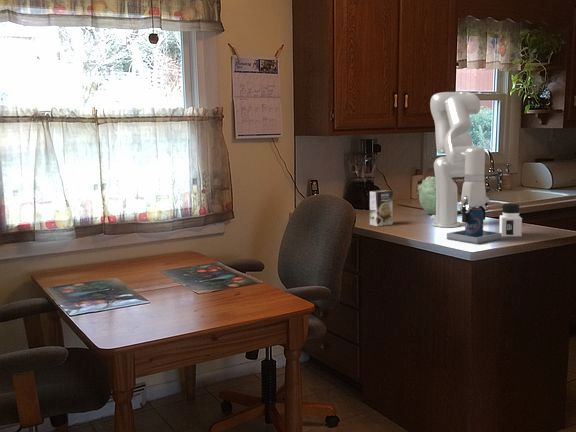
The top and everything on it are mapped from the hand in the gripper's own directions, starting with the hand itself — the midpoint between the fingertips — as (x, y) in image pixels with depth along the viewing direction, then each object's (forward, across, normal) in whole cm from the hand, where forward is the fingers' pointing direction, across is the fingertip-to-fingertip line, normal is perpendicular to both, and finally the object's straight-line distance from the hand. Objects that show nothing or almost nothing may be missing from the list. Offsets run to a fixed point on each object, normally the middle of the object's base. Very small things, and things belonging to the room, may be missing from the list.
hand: (473, 220), depth 247 cm
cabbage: (+9, -39, -54) cm, 67 cm away
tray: (+7, 0, +1) cm, 7 cm away
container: (+8, -18, +5) cm, 20 cm away
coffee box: (+9, +1, -52) cm, 53 cm away
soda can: (+7, 0, 0) cm, 7 cm away
